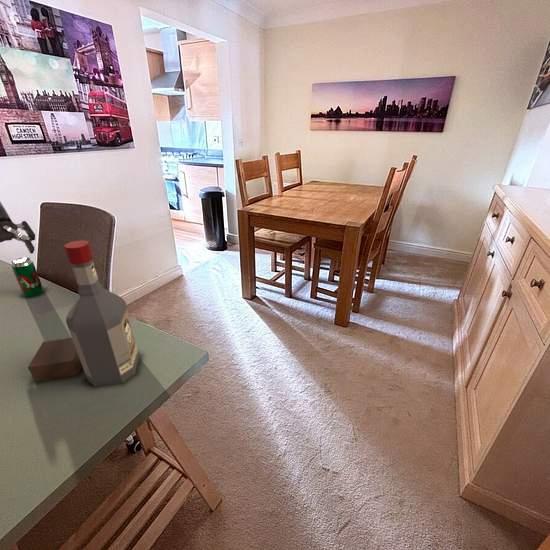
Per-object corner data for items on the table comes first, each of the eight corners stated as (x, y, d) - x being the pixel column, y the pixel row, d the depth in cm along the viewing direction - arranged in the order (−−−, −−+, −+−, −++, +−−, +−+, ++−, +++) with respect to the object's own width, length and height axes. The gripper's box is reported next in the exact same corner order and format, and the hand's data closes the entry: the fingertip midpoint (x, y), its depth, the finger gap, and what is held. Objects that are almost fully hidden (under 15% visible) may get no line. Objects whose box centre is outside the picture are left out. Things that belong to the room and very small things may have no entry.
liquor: (85, 390, 61) (33, 256, 47) (99, 359, 69) (58, 236, 55) (133, 384, 63) (96, 252, 49) (141, 354, 71) (112, 233, 57)
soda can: (40, 289, 96) (26, 255, 90) (48, 294, 93) (34, 259, 88) (21, 297, 92) (6, 261, 86) (29, 301, 90) (14, 265, 84)
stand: (36, 385, 62) (27, 367, 60) (50, 358, 69) (42, 341, 67) (79, 377, 64) (73, 360, 62) (89, 352, 71) (83, 335, 69)
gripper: (-46, 209, 83) (-18, 258, 83) (17, 200, 93) (43, 243, 92) (-41, 223, 89) (-14, 269, 88) (18, 213, 99) (42, 255, 98)
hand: (15, 256), depth 90 cm, fingers open, 8 cm apart
